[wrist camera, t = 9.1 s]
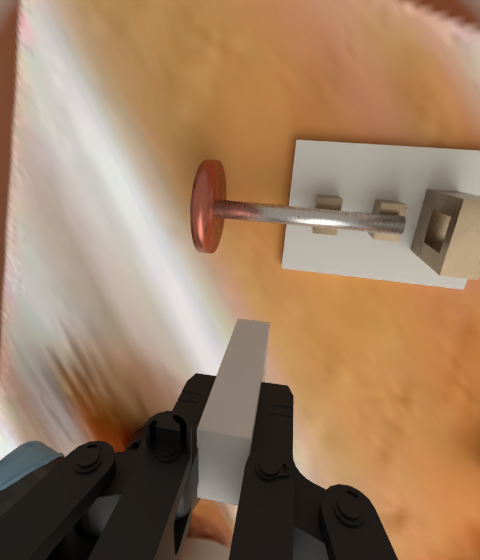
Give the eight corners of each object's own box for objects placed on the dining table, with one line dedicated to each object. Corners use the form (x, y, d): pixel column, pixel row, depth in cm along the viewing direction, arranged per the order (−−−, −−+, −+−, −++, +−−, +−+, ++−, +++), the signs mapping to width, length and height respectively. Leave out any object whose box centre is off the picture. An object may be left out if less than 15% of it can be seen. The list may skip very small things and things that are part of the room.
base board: (281, 265, 39) (281, 268, 38) (296, 140, 34) (296, 139, 33) (458, 285, 36) (463, 289, 35) (504, 152, 31) (512, 152, 30)
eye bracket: (309, 239, 36) (312, 261, 29) (318, 180, 34) (323, 187, 26) (439, 252, 34) (477, 279, 27) (458, 191, 32) (506, 202, 24)
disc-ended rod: (206, 239, 39) (180, 262, 30) (208, 158, 35) (179, 159, 27) (379, 257, 36) (404, 289, 28) (400, 171, 33) (435, 178, 24)
